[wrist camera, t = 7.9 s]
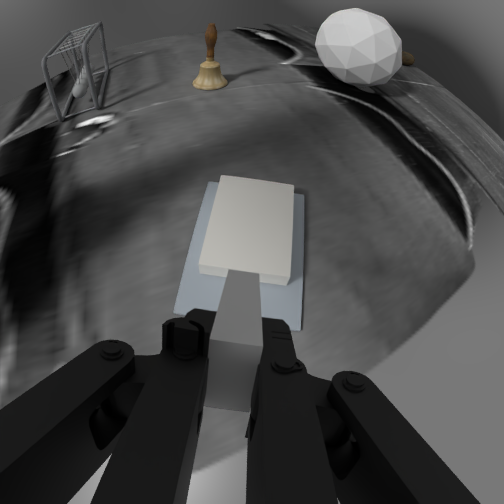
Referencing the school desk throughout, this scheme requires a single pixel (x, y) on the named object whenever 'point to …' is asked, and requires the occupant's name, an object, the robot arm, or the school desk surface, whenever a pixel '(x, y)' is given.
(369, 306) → the school desk surface
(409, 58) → the brown hollow tube
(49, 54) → the newton's cradle
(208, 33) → the hand bell
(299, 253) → the mat
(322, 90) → the school desk surface
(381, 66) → the geometric polyhedron
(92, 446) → the robot arm
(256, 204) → the tile
